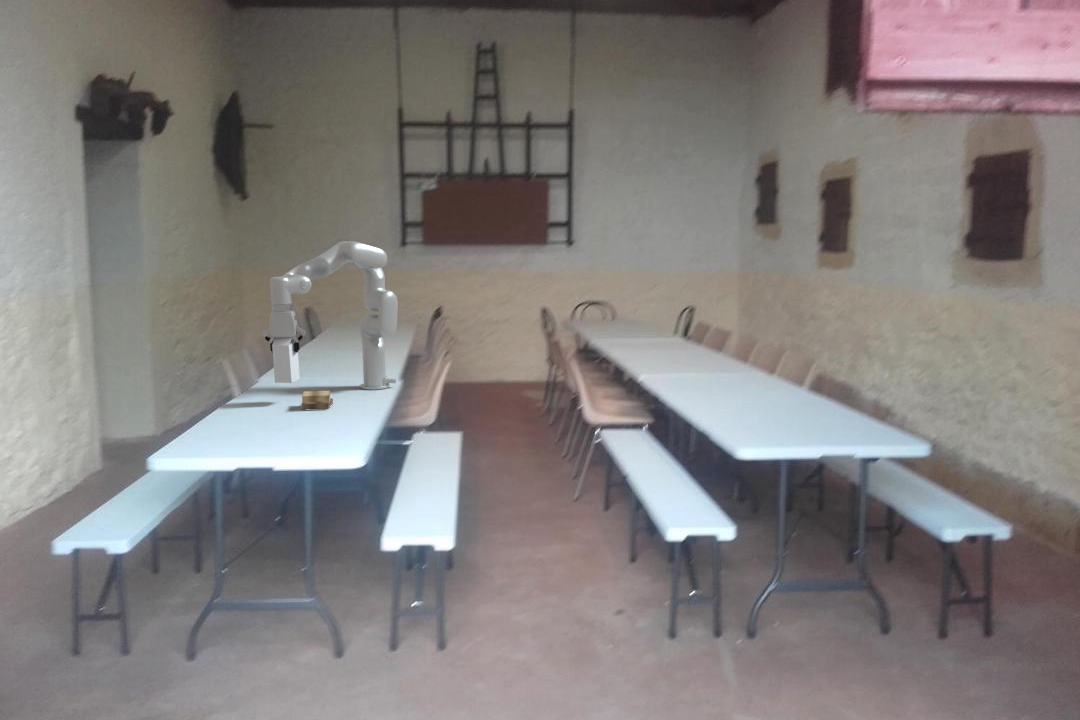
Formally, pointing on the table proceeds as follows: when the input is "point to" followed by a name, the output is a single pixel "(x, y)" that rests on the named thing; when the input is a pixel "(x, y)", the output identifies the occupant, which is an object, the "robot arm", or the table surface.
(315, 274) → the robot arm
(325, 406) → the bottom slab
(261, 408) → the table surface
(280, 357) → the milk carton
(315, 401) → the top slab
